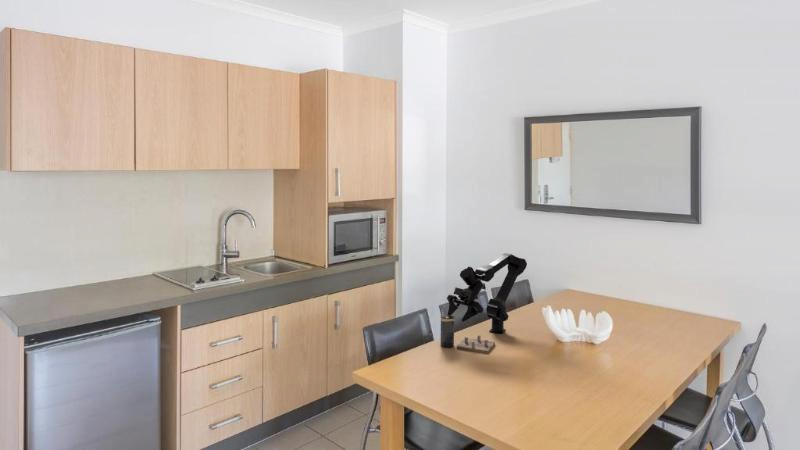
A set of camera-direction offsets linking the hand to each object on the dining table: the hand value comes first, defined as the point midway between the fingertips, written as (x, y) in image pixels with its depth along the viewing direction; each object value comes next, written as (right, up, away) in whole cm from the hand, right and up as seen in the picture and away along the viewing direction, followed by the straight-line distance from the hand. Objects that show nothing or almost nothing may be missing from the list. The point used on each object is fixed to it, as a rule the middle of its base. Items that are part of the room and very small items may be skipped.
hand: (454, 319), depth 244 cm
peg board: (+9, -12, -3) cm, 15 cm away
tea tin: (-4, -12, -1) cm, 12 cm away
